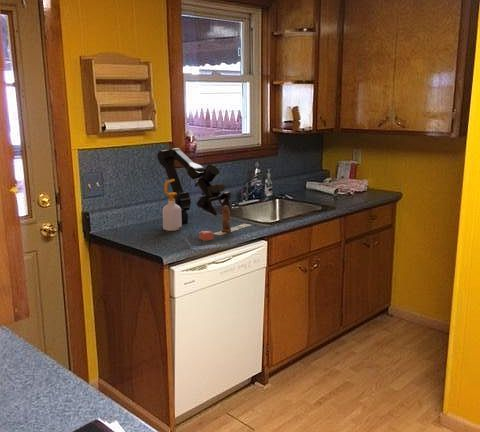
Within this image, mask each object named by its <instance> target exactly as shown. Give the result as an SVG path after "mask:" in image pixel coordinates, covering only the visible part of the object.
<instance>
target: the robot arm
mask: <svg viewBox="0 0 480 432" xmlns="http://www.w3.org/2000/svg"><path fill="white" fill-rule="evenodd" d="M156 157H157V158H156V159H157V160H158V162H159V164H160V165H161V166H162V167H163V168H164V169H165V172H166V175H167V178H168V180H171V179H175V181H173V182H170V183H169V184H170V187H171V189H172V192H175V193H177V194H176V195H174V196H173V199H175V204H177V205H178V206H180V208H181V220H182V224H188V223H189V214H188V212H187V211H190V207H191V203H192V201H191V200H192V199H191V197H190V193H189V192H186V191H184V189H183V186H182V183H181V181H180V178H179V175H178V171H177V169H176V166H175V161H177V162H178V163H179V164H180V165H181V166H182V167H183V168H184V169H185V170H186V173H187V175H188V176H189V178H190V179H191V180H196V181H195V184H194V187H199V189H200V191H201V192H202V193H201V195H202V196H201V197H199V199H198V200H197V201H196V205H197V207H198V209H201V210H204V211H207V213H210V214H211V215H213V216H218V213H217V211H216V210H215V207H214V206H213V204H212V203H214V202H219V203H220V206H222V208H223V207H224V206H226V205H227V206H228V207H229V211H230V213H231V212H232V210H231V206H230V205H231V204H230V200H231V198H232V196H233V195H232V193H231V192H230V191H225V190H226V189H227V184H226V183H225V182H221V183H218V184H215V185H212V183H213V182H214V181H215V180H216V178H217V177H218V175H219V174H220V170H219V168H217V167H216V166H214V165H213V164H212V163H209V164H207V165H206V167H204V166H202V165H201V164H198V163H195V162H194V161H193V160H191V159H190V157H188V156H187V155H186V154H185V153H184V152H183V151H182V150H181V148H179V147H175V148H171V149H163V150H159V151H158V152H157V155H156ZM223 191H225V192H223Z"/></svg>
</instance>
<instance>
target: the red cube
mask: <svg viewBox="0 0 480 432" xmlns="http://www.w3.org/2000/svg"><path fill="white" fill-rule="evenodd" d="M213 233H214V232H213V231H210V230H205V231H204V230H202V231H199V233H198V234H199V240H202V241H203V242H204V241H212V240H214V234H213Z"/></svg>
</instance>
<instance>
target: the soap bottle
mask: <svg viewBox="0 0 480 432" xmlns="http://www.w3.org/2000/svg"><path fill="white" fill-rule="evenodd" d="M173 181H175V179H171V180H169V179H168V180H166V181H164V194H166V195H167V196H168V197H169V198H168V199H167V202H168V203H167V204H166V205H164V206H163V208H162V228H163V230H165V231H169V232H174V231H179V230H181V228H182V226H183V225H182V220H181V208H180V206H178V205H177V204H175V199H173V196H174V195H176V194H177V193H175V192H173V191H172V192H168V184H170V182H173Z"/></svg>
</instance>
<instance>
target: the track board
mask: <svg viewBox="0 0 480 432" xmlns="http://www.w3.org/2000/svg"><path fill="white" fill-rule="evenodd" d="M246 227H251V224H247V223H242V224H239V225H236V226H233V227H230V228H231V232H234V231H239V230H241V229H244V228H246ZM231 232H222V230H219V231H216V232H213V235H217V236H222V235H225V234H228V233H231Z"/></svg>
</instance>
